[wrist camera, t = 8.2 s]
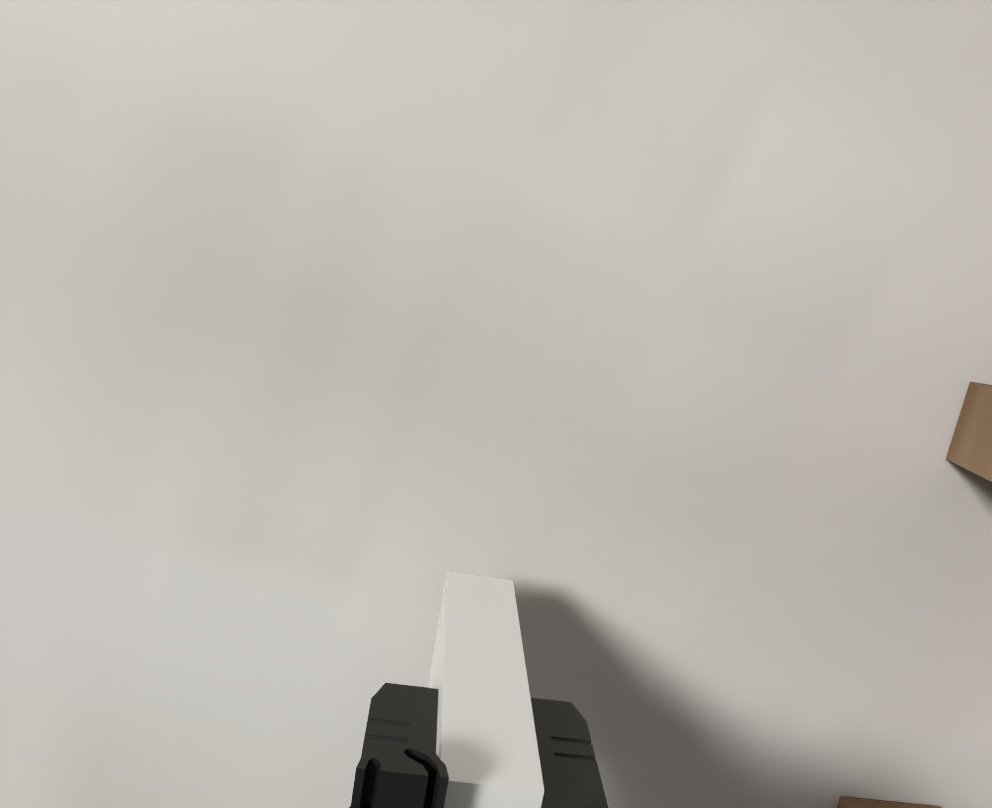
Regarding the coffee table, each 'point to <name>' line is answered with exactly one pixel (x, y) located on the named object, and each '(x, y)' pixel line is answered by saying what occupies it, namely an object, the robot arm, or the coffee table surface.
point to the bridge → (982, 450)
